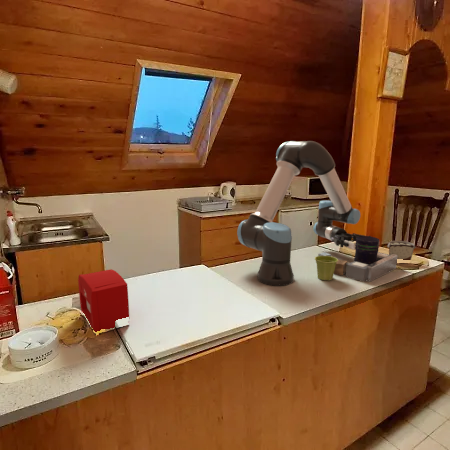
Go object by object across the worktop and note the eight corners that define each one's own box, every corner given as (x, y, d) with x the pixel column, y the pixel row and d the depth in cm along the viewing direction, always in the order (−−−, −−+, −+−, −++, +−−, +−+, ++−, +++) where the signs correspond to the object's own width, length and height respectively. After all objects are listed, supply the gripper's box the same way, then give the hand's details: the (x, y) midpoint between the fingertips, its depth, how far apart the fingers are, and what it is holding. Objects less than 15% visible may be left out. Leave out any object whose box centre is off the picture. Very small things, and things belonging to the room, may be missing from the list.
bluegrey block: (317, 265, 162) (318, 253, 161) (323, 264, 164) (324, 252, 163) (323, 268, 159) (324, 255, 158) (330, 266, 161) (330, 254, 160)
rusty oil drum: (356, 265, 163) (359, 234, 160) (378, 269, 157) (381, 238, 154) (350, 271, 155) (353, 239, 152) (373, 276, 149) (376, 242, 146)
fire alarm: (81, 315, 114) (76, 272, 110) (113, 307, 120) (110, 266, 116) (94, 337, 101) (90, 289, 97) (130, 326, 107) (127, 281, 103)
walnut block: (331, 273, 153) (331, 262, 152) (334, 269, 158) (335, 259, 156) (342, 275, 150) (343, 264, 149) (346, 271, 155) (347, 261, 154)
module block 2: (367, 266, 162) (369, 254, 160) (375, 262, 167) (377, 251, 165) (384, 270, 156) (386, 258, 154) (392, 266, 161) (393, 255, 160)
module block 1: (345, 276, 149) (346, 263, 147) (353, 272, 153) (354, 260, 152) (363, 281, 143) (364, 268, 142) (371, 277, 147) (372, 264, 146)
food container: (407, 260, 171) (410, 240, 168) (413, 264, 165) (415, 244, 162) (382, 259, 172) (384, 240, 170) (386, 263, 166) (388, 243, 164)
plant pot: (308, 277, 148) (310, 258, 146) (322, 272, 153) (324, 254, 151) (327, 284, 140) (328, 263, 138) (340, 279, 146) (342, 259, 144)
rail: (365, 280, 144) (367, 265, 143) (391, 267, 160) (393, 254, 159) (370, 281, 143) (371, 267, 141) (396, 268, 159) (397, 255, 157)
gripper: (355, 239, 178) (387, 250, 159) (314, 243, 170) (343, 256, 151) (356, 225, 177) (389, 234, 157) (315, 229, 168) (344, 239, 149)
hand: (366, 245), depth 154 cm, fingers open, 13 cm apart
